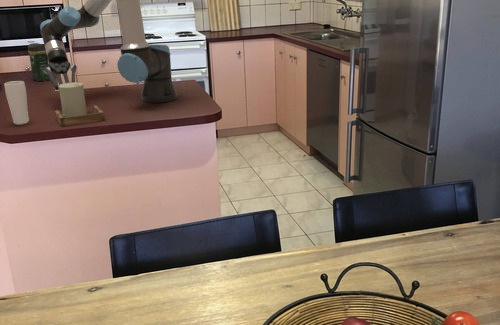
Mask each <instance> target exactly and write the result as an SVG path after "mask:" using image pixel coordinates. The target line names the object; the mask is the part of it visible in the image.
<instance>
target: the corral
mask: <svg viewBox="0 0 500 325" xmlns="http://www.w3.org/2000/svg"><path fill="white" fill-rule="evenodd" d="M92 110H93V112H92V113H87V114H84V115H77V116H70V117H64V116H63V115H62V114H61V112H60V110H59V109H56V110H54V117H55V119H56V121H57V122H58V124H59V125H60V127H61V128H62V127H69V126H70V127H71V126H75V125H83V124H84V125H85V124H90V123H97V122H103V121H106V120H105V119H106V118H105V113H104V111H103V110H102V109H100V107H98V105H96V104H95V105H92Z"/></svg>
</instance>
